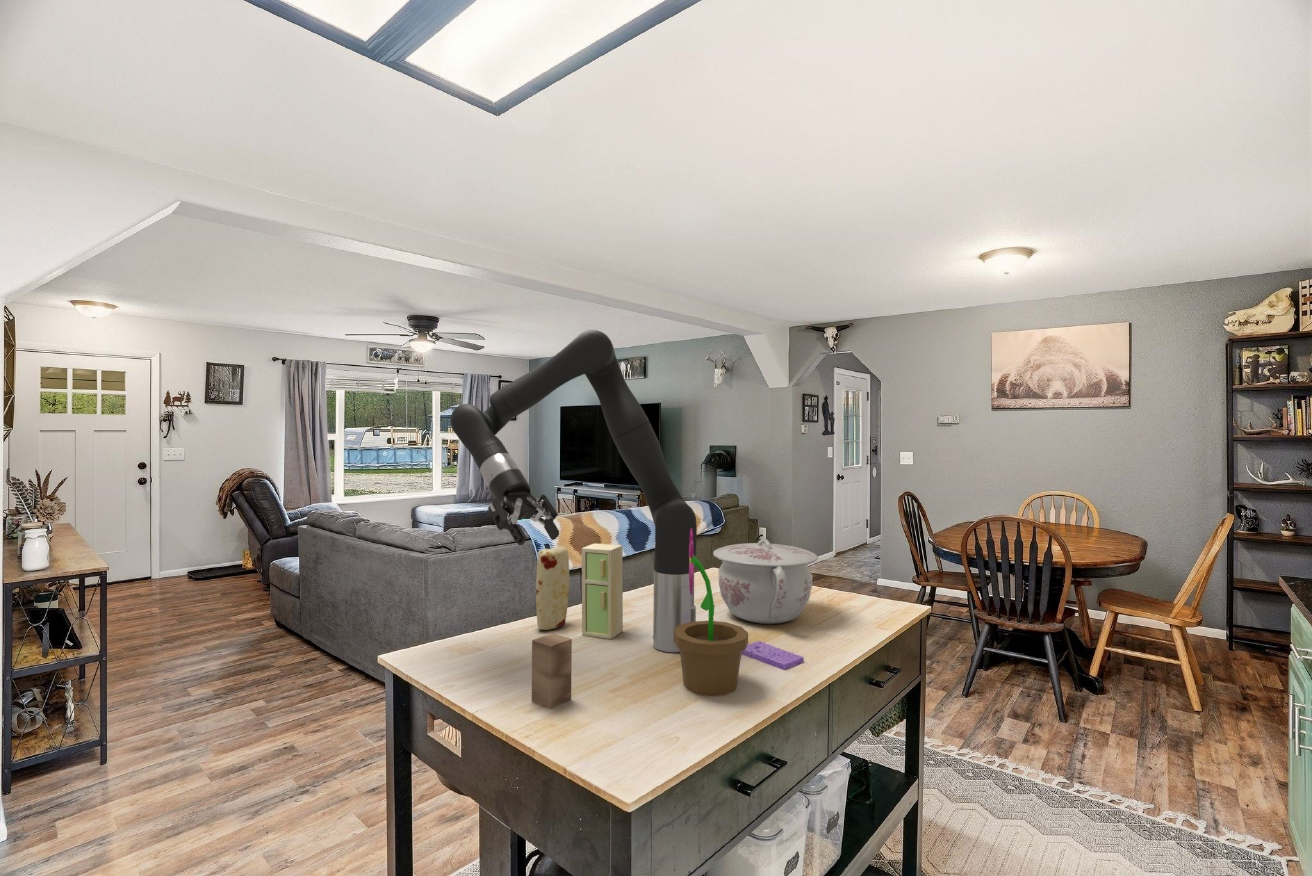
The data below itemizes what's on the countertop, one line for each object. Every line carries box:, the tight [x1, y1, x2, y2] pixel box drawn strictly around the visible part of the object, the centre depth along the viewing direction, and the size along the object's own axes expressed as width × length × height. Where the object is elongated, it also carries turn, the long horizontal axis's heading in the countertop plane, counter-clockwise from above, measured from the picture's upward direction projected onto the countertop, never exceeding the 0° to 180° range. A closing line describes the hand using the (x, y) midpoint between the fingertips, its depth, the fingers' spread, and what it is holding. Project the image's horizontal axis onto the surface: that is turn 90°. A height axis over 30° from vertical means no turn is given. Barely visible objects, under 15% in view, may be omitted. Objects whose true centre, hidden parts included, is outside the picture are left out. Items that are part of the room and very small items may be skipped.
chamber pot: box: [712, 538, 819, 625], centre depth 164 cm, size 28×28×21 cm
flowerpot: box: [673, 528, 749, 697], centre depth 119 cm, size 14×14×30 cm
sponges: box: [741, 640, 805, 670], centre depth 134 cm, size 7×13×2 cm, turn 41°
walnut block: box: [531, 633, 573, 710], centre depth 112 cm, size 5×5×11 cm
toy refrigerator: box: [581, 543, 624, 640], centre depth 149 cm, size 8×7×21 cm
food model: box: [535, 545, 570, 631], centre depth 153 cm, size 10×7×20 cm
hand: (540, 539), depth 124 cm, fingers open, 8 cm apart
